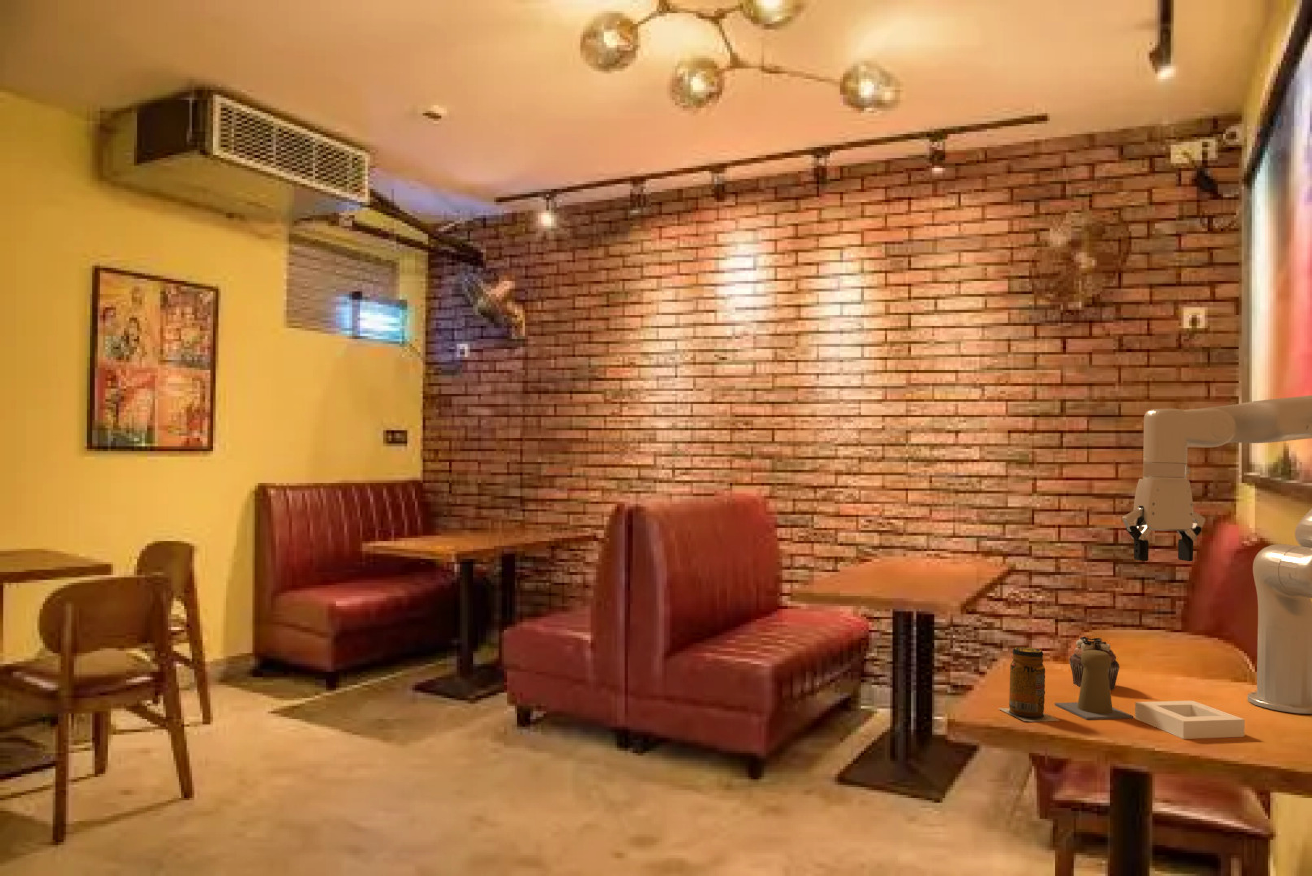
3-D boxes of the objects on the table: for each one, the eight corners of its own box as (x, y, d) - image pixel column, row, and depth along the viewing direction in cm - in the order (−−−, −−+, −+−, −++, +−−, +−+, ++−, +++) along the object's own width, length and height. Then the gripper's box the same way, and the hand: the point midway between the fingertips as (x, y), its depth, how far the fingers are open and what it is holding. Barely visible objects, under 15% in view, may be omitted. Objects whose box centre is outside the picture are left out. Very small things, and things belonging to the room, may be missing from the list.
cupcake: (1128, 692, 189) (1129, 643, 189) (1080, 690, 189) (1081, 642, 189) (1106, 680, 198) (1107, 634, 198) (1061, 679, 198) (1061, 632, 199)
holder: (1192, 716, 172) (1192, 700, 172) (1244, 736, 160) (1244, 719, 160) (1135, 718, 169) (1135, 702, 170) (1183, 738, 158) (1183, 721, 158)
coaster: (1099, 703, 179) (1099, 701, 179) (1133, 718, 170) (1133, 715, 170) (1054, 704, 177) (1054, 702, 177) (1086, 719, 168) (1086, 717, 168)
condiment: (1032, 708, 175) (1034, 645, 175) (1060, 721, 167) (1061, 655, 167) (997, 709, 174) (999, 645, 174) (1023, 722, 165) (1025, 655, 165)
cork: (1116, 715, 170) (1117, 655, 170) (1081, 712, 171) (1082, 653, 171) (1108, 706, 176) (1109, 648, 176) (1074, 703, 177) (1075, 646, 177)
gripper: (1189, 472, 184) (1188, 558, 184) (1112, 470, 181) (1110, 557, 181) (1218, 473, 177) (1217, 562, 176) (1138, 472, 174) (1136, 562, 173)
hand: (1163, 560), depth 179 cm, fingers open, 9 cm apart
